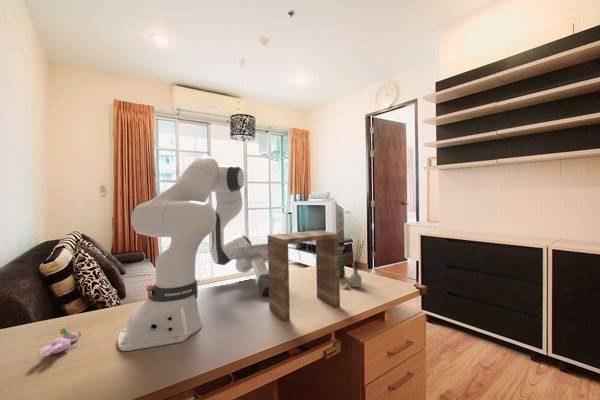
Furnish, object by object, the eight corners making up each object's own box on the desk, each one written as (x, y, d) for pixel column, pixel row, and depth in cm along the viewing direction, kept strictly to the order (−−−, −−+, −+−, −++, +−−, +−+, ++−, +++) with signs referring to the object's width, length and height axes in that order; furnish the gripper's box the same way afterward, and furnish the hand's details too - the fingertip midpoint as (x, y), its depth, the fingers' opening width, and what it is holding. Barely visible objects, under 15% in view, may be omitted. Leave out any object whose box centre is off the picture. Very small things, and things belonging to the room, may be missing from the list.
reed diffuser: (360, 283, 127) (359, 238, 126) (371, 288, 120) (370, 240, 120) (341, 287, 122) (340, 240, 121) (351, 292, 116) (350, 243, 115)
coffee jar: (329, 280, 132) (329, 240, 132) (322, 275, 140) (321, 238, 139) (347, 277, 136) (347, 238, 136) (339, 273, 143) (338, 236, 143)
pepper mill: (262, 298, 113) (265, 290, 110) (247, 258, 127) (250, 249, 124) (275, 296, 115) (279, 287, 112) (259, 256, 130) (262, 248, 127)
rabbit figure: (62, 344, 82) (26, 365, 68) (63, 322, 83) (28, 339, 68) (87, 341, 84) (58, 361, 69) (88, 319, 84) (59, 335, 70)
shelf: (284, 321, 91) (282, 239, 90) (269, 308, 101) (267, 235, 101) (339, 306, 101) (338, 233, 101) (321, 296, 112) (320, 230, 111)
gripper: (227, 251, 127) (235, 239, 117) (270, 246, 137) (280, 235, 127) (230, 265, 125) (237, 254, 114) (273, 259, 135) (284, 248, 124)
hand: (260, 244), depth 120 cm, fingers open, 8 cm apart
